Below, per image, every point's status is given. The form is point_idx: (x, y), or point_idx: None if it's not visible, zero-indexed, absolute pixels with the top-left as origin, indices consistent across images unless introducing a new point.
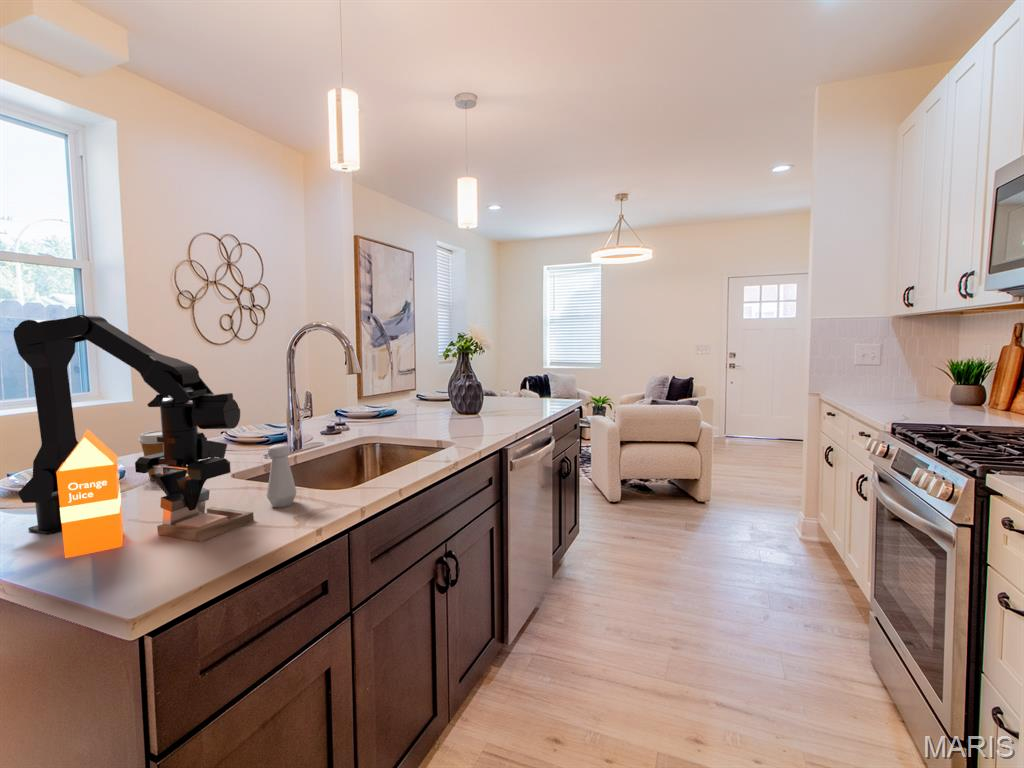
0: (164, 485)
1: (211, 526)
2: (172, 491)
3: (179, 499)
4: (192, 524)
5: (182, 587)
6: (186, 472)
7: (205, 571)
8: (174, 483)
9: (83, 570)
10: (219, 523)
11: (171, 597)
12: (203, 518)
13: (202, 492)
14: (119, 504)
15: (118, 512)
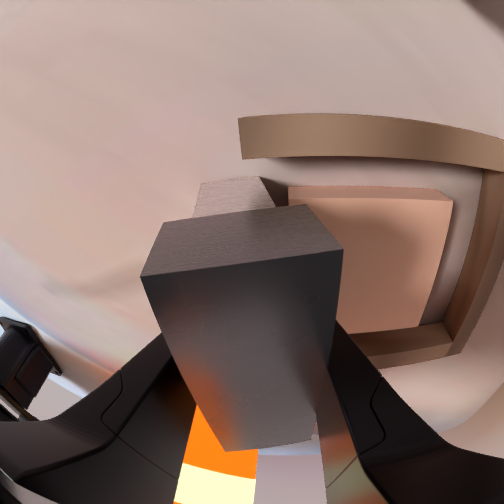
0: (177, 483)
1: (466, 316)
2: (183, 429)
3: (311, 425)
4: (375, 322)
5: (487, 395)
6: (58, 479)
7: (500, 372)
8: (153, 462)
9: (312, 438)
10: (479, 291)
11: (484, 403)
12: (363, 262)
13: (333, 322)
14: (207, 481)
15: (254, 481)
